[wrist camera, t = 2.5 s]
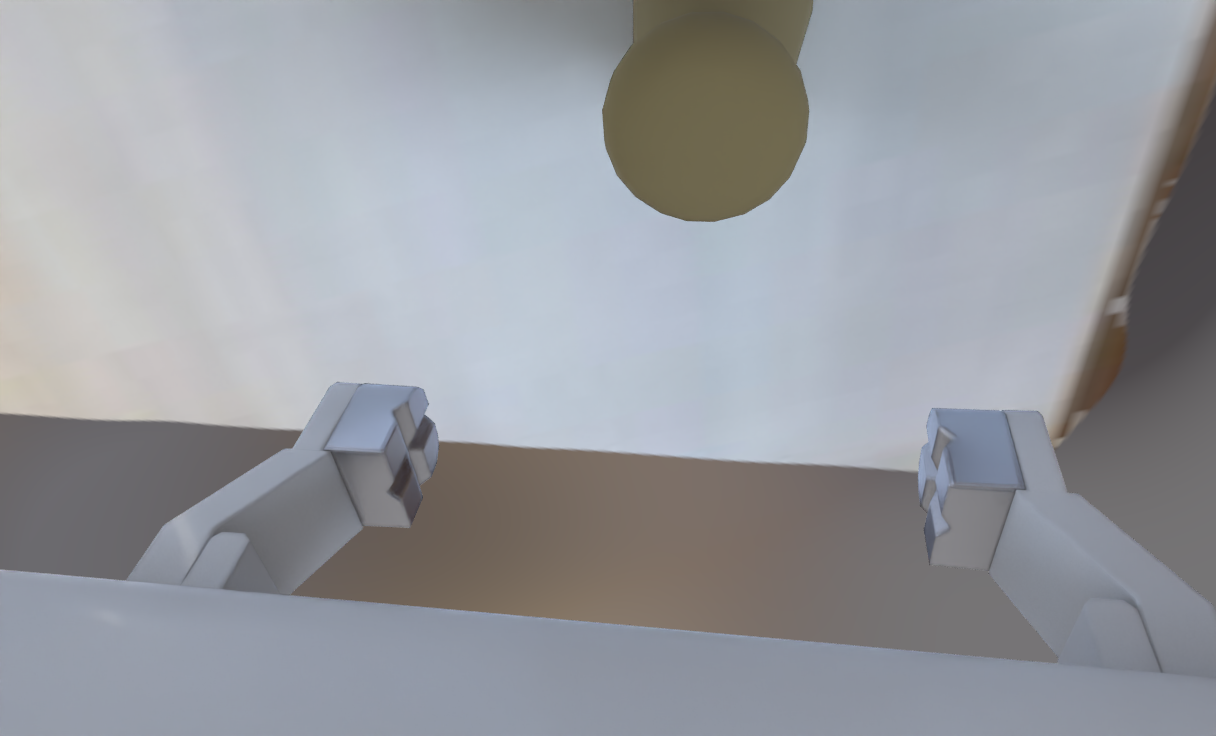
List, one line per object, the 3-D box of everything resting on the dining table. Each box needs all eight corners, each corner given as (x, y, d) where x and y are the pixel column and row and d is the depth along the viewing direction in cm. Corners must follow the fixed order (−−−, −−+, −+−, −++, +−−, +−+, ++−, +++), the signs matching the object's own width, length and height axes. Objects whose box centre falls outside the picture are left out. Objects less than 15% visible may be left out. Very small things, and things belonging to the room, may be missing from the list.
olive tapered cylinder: (836, -88, 27) (862, 48, 18) (790, 97, 31) (795, 275, 22) (643, -116, 27) (584, 7, 19) (623, 71, 31) (568, 239, 23)
